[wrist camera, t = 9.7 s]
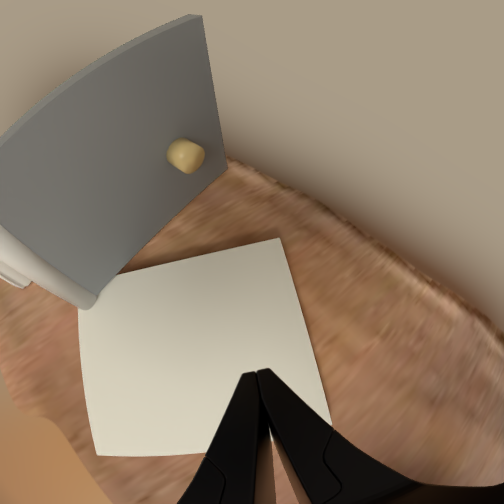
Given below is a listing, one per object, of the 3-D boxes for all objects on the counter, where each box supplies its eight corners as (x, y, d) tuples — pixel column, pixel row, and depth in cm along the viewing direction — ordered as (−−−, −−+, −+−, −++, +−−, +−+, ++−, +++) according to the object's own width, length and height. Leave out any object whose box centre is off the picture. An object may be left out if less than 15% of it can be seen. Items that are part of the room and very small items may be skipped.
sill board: (329, 422, 17) (332, 424, 16) (103, 453, 16) (97, 455, 15) (279, 243, 23) (279, 237, 22) (84, 288, 22) (78, 284, 21)
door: (241, 176, 24) (221, 17, 12) (92, 326, 19) (-57, 238, 6) (214, 160, 25) (184, 14, 13) (73, 298, 20) (-57, 203, 7)
